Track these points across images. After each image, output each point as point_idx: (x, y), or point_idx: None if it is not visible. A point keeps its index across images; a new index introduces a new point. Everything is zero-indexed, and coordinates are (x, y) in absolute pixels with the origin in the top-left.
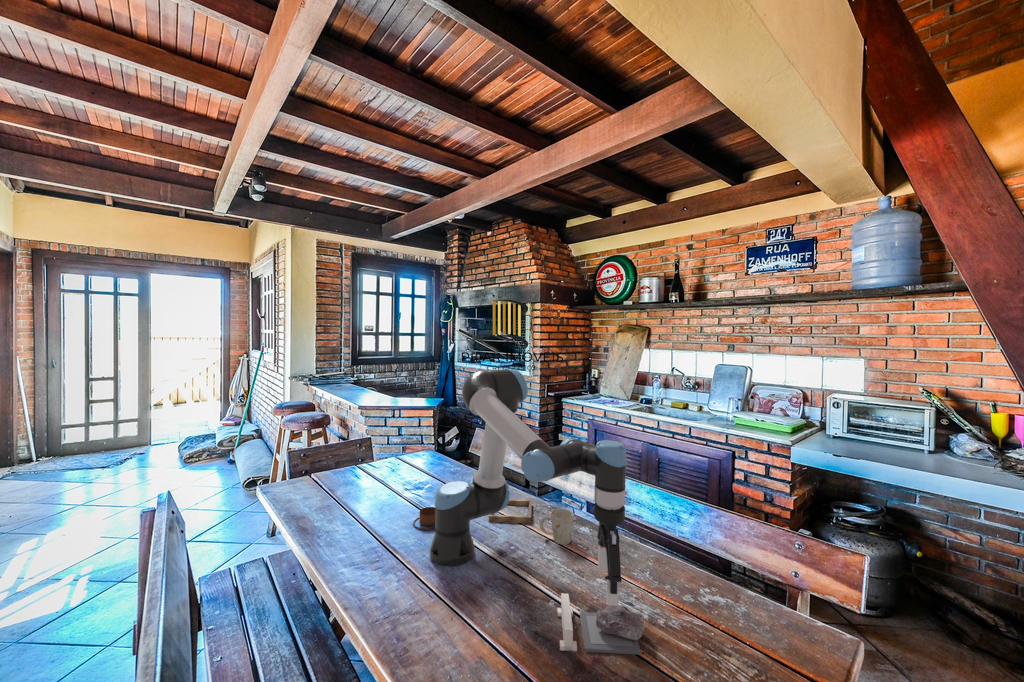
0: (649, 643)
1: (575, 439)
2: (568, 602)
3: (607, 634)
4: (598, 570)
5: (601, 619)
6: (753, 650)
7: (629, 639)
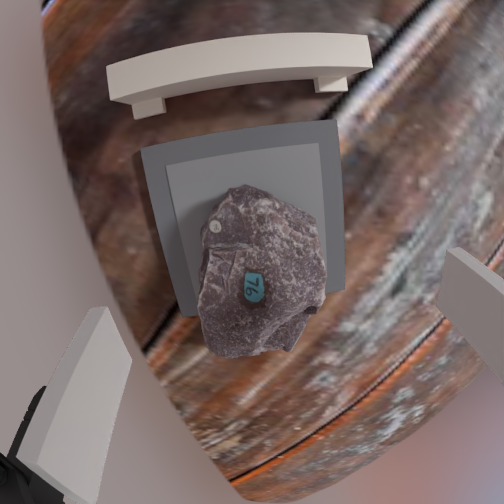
0: None
1: None
2: (308, 61)
3: None
4: (449, 252)
5: (226, 215)
6: (262, 460)
7: None
